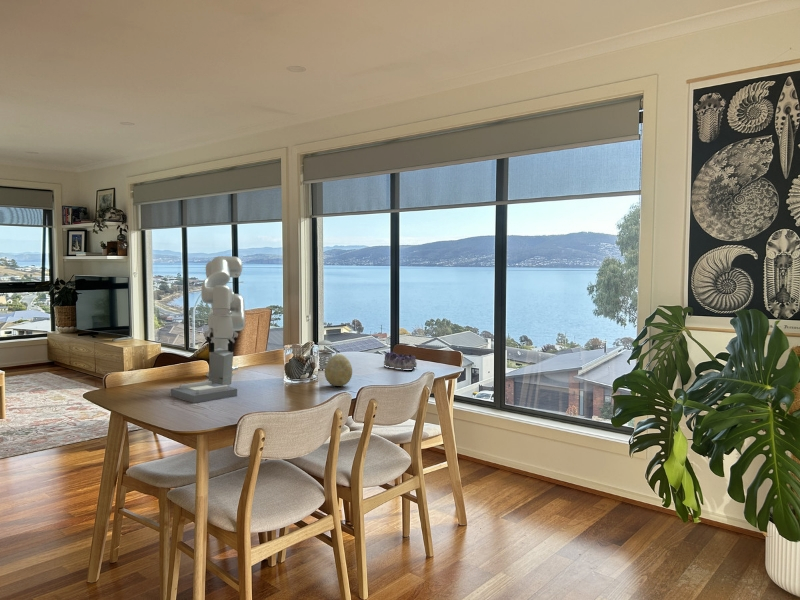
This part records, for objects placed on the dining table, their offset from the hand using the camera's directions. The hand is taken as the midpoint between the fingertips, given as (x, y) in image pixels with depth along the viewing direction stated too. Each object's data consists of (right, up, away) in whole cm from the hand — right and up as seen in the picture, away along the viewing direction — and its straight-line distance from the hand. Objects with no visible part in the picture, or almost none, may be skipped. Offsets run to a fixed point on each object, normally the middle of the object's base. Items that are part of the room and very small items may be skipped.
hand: (221, 352), depth 273 cm
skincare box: (-2, -15, +5) cm, 16 cm away
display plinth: (-3, -17, -15) cm, 23 cm away
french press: (+39, -14, +58) cm, 72 cm away
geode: (+79, -15, +64) cm, 103 cm away
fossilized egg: (+51, -17, +11) cm, 55 cm away
